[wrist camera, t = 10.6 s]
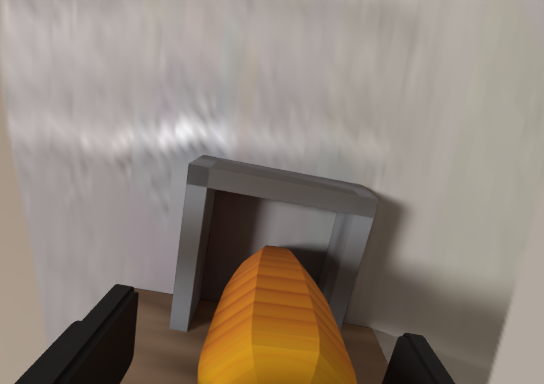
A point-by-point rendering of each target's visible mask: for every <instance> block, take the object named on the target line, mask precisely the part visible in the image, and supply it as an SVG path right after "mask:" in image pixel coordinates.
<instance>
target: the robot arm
mask: <svg viewBox="0 0 544 384" xmlns="http://www.w3.org/2000/svg"><path fill="white" fill-rule="evenodd" d="M138 298H139V293H138V292H134V287H132V286H126V285H120V284H116V285H115V286H113V288H112V289H111V290H110V291H109V292H108V293H107V294H106V295H105V296H104V297H103V298H102V299H101V301H100V302H99V303H98V304H97V305H96V306H95V307H94V308H93V309H92V310H91V311H90V312H89V314H88V315H87V316H86V317H85V318H84V319H83V320H82V321H75V322H74V323H72V324H71V325H70V326H69V327H68V328H67V329H66V330H65V331H64V332H63V333H62V334H61V336H60V337H59V338H58V339H57V340H56V341H55V342H54V343H53V344H52V345H51V346H50V347H49V348H48V349H47V350H46V351H45V352H44V353H43V354H42V356H41V357H39V359H38V360H37V361H36V362H35V363H34V364H33V365H32V366H31V367H30V368H29V369H28V370H27V371H26V372H25V373H24V374H23V375H22V376H21V377H20V379H18V380H17V382H16V383H15V384H120V383H121V381H122V379H123V378H124V376H125V374H126V372H127V371H128V369H129V367H130V365H131V363H132V360H133V356H134V346H135V334H136V322H137V310H138ZM382 384H455V383H454V381H453V380H452V378H451V377H450V375H449V374H448V372H447V371H446V369H445V368H444V366H443V365H442V363H441V362H440V360H439V359H438V357H437V356H436V354H435V353H434V351H433V350H432V348H431V347H430V345H429V344H428V342H427V341H426V339H425V338H424V337H423V336H421V335H416V334H410V333H405V334H403V336H400V337H399V338H398V340H397V343H396V345H395V348H394V351H393V354H392V356H391V359H390V362H389V365H388V368H387V370H386V373H385V376H384V379H383V381H382Z"/></svg>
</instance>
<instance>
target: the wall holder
mask: <svg viewBox="0 0 544 384" xmlns="http://www.w3.org/2000/svg"><path fill="white" fill-rule="evenodd" d="M216 189H217V190H223V191H228V192H234V193H239V194H244V195H250V196H255V197H261V198H266V199H271V200H277V201H282V202H288V203H293V204H298V205H304V206H309V207H315V208H320V209H325V210H331V211H336V212H337V215H336V219H335V223H334V227H333V231H332V234H331V238H330V242H329V246H328V250H327V253H326V257H325V261H324V265H323V269H322V273H321V276H320V280H319V284H318V288H319V289H320V291H321V293H322V294H323V296H324V297H325V299H326V300H327V303H328V305H329V307H330V310H331V312H332V314H333V317H334V319H335V322H336V324H337V326H338V329H339V331H340V334H341V337H342V339H343V342H344V345H345V347H346V350H347V353H348V355H349V358H350V361H351V363H352V366H353V369H354V371H355V375H356V380H357V384H382V381H383V379H384V376H385V373H386V370H387V368H388V363H387V361H386V358H385V356H384V354H383V352H382V350H381V347H380V345H379V343H378V341H377V339H376V336H375V334H374V332H373V330H372V328H367V327H361V326H355V325H349V324H344V323H343V320H344V316H345V313H346V310H347V306H348V303H349V300H350V296H351V293H352V290H353V286H354V283H355V279H356V276H357V273H358V269H359V266H360V263H361V259H362V256H363V253H364V249H365V246H366V243H367V239H368V236H369V232H370V229H371V226H372V222H373V219H374V216H375V212H376V209H377V206H378V202H379V199H378V198H377V197H376V196H374V195H373V194H372V193H371V192H370V191H368V190H367V189H366V188H365V187H363V186H362V185H359V184H353V183H348V182H343V181H338V180H332V179H327V178H322V177H316V176H311V175H306V174H301V173H295V172H290V171H285V170H280V169H274V168H269V167H264V166H258V165H253V164H248V163H243V162H237V161H232V160H227V159H222V158H216V157H211V156H206V155H203V156H201V157H199V158H198V159H196V160H194V161H193V162H191V163H189V167H188V175H187V183H186V192H185V200H184V209H183V217H182V225H181V234H180V242H179V251H178V259H177V267H176V276H175V284H174V293H173V295H171V294H166V293H160V292H154V291H148V290H142V289H136V288H134V292H138V293H139V298H138V310H137V322H136V334H135V346H134V356H133V360H132V363H131V365H130V367H129V369H128V371H127V372H126V374H125V376H124V378H123V379H122V381H121V383H120V384H197V375H198V365H199V360H200V354H201V351H202V349H203V346H204V343H205V340H206V337H207V334H208V331H209V328H210V325H211V322H212V320H213V317H214V314H215V311H216V309H217V306H218V304H219V302H213V301H207V300H201V299H200V295H201V288H202V281H203V275H204V268H205V261H206V254H207V247H208V240H209V234H210V227H211V220H212V213H213V206H214V199H215V193H216Z"/></svg>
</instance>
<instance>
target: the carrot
mask: <svg viewBox="0 0 544 384" xmlns="http://www.w3.org/2000/svg"><path fill="white" fill-rule="evenodd" d="M197 384H357V380H356V375H355V371H354V369H353V366H352V363H351V361H350V358H349V355H348V353H347V350H346V347H345V345H344V342H343V339H342V337H341V334H340V331H339V329H338V326H337V324H336V322H335V319H334V317H333V314H332V312H331V310H330V307H329V305H328V303H327V300H326V299H325V297H324V296H323V294H322V293H321V291H320V289H319V288H318V286H317V285H316V283H315V282H314V280H313V279H312V278H311V276H310V275H309V274H308V272H307V271H306V270H305V268H304V267H303V266H302V265H301V263H300V262H299V261H298V260H297V258H296V257H295V256H294V255H293V253H292V252H291V251H290V250H288V249H286V248H283V247H276V246H268V245H267V246H265V247H263V248H262V249H261V250H259V251H258V252H256V253H255V254H254V255H252V256H251V257H249V258H248V259H247V260H245V261H244V262H243V263H242V264H241V265H240V267H239V268H238V269H237V270H236V272H235V273H234V275H233V276H232V278H231V279H230V281H229V282H228V284H227V285H226V287H225V289H224V291H223V294H222V296H221V299H220V301H219V304H218V306H217V309H216V311H215V314H214V317H213V320H212V322H211V325H210V328H209V331H208V334H207V337H206V340H205V343H204V346H203V349H202V351H201V354H200V360H199V365H198V375H197Z"/></svg>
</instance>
